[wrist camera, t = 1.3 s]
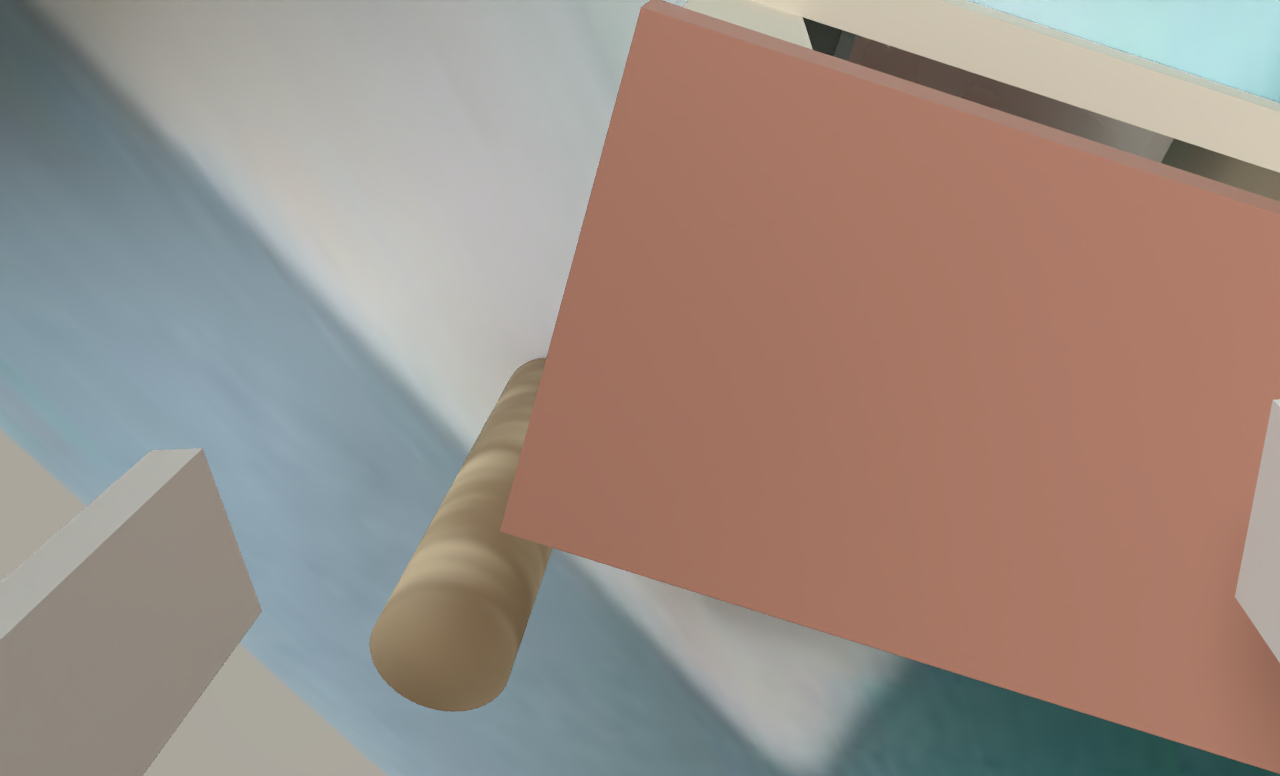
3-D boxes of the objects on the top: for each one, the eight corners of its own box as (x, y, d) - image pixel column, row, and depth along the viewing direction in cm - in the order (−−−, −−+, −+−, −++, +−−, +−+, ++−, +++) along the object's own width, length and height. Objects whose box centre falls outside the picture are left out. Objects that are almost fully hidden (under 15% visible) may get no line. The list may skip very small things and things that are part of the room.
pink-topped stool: (630, 227, 33) (500, 531, 17) (722, -81, 28) (660, -65, 12) (1122, 384, 33) (1452, 827, 17) (1291, 106, 29) (1954, 358, 13)
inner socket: (754, 267, 33) (753, 310, 29) (854, -2, 29) (866, 11, 25) (1001, 346, 33) (1028, 398, 29) (1135, 90, 29) (1186, 116, 25)
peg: (497, 425, 37) (360, 686, 25) (517, 345, 35) (381, 582, 23) (585, 453, 37) (493, 727, 25) (609, 374, 35) (524, 626, 23)
